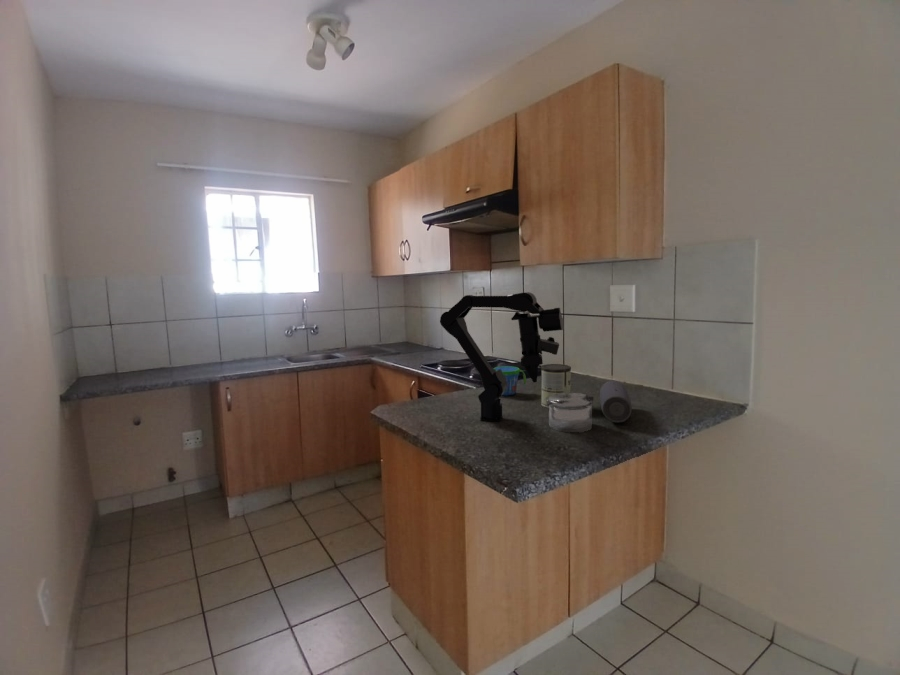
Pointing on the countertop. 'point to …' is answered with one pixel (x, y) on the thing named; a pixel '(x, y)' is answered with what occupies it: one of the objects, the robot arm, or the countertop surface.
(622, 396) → the bluetooth speaker
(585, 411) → the grey round canister
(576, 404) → the cooker lid
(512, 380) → the snack cup
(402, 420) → the countertop surface
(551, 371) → the coffee can
